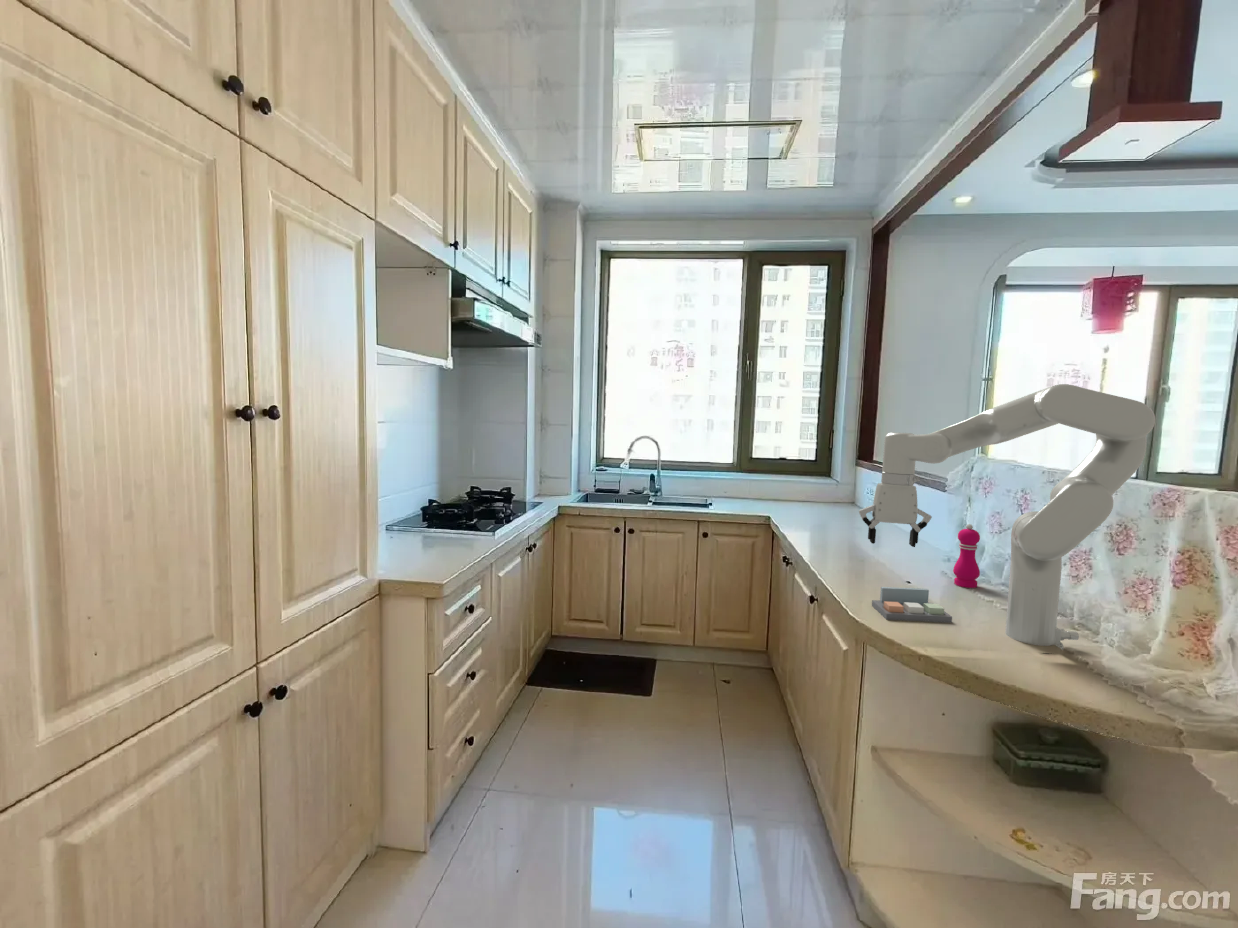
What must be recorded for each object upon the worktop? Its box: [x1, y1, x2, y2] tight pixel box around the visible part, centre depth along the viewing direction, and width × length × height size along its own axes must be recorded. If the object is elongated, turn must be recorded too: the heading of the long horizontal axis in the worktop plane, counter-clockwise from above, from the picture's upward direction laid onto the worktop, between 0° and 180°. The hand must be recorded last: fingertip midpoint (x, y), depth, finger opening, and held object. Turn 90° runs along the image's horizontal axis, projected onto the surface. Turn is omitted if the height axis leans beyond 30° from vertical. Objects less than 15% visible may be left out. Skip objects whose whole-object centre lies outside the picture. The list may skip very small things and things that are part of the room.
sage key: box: [923, 602, 945, 615], centre depth 142 cm, size 4×4×3 cm
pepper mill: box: [952, 523, 981, 589], centre depth 174 cm, size 7×7×20 cm
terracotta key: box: [884, 601, 904, 613], centre depth 143 cm, size 4×4×3 cm
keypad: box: [871, 586, 953, 624], centre depth 144 cm, size 16×10×7 cm, turn 84°
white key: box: [903, 602, 924, 614], centre depth 142 cm, size 4×4×3 cm
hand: (892, 544), depth 143 cm, fingers open, 9 cm apart
